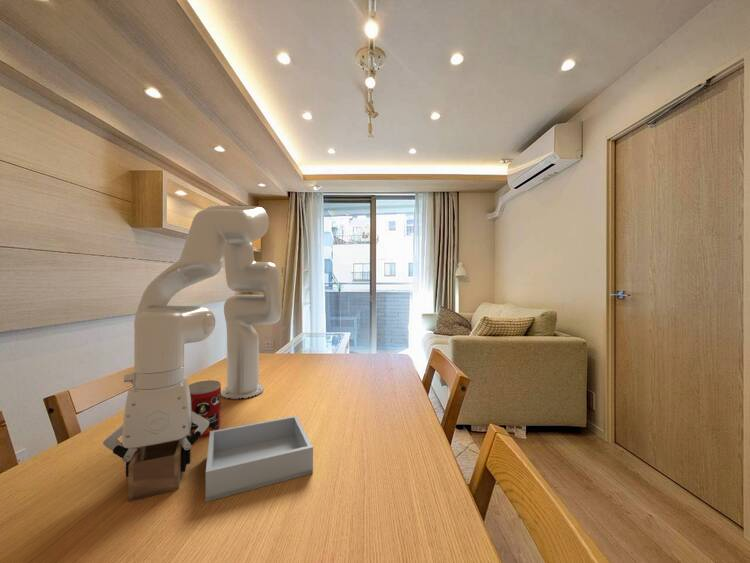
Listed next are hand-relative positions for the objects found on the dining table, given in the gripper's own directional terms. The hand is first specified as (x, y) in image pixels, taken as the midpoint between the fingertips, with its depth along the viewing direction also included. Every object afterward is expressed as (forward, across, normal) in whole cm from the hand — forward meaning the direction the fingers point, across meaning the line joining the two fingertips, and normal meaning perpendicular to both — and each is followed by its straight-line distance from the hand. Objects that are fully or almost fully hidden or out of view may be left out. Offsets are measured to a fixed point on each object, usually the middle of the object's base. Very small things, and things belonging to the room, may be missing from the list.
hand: (159, 472), depth 57 cm
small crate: (+1, 0, 0) cm, 1 cm away
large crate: (+1, +17, -3) cm, 17 cm away
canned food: (+1, +6, +17) cm, 18 cm away
